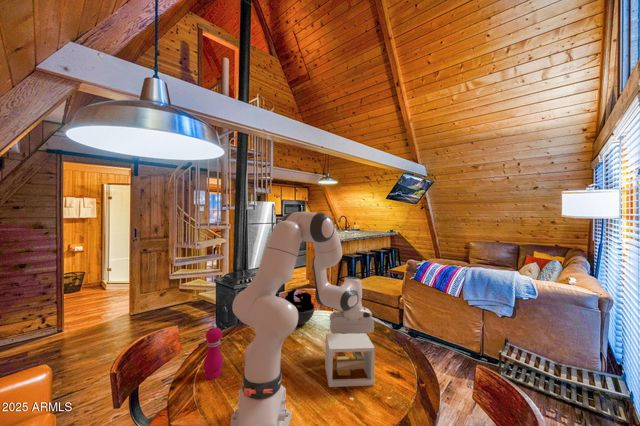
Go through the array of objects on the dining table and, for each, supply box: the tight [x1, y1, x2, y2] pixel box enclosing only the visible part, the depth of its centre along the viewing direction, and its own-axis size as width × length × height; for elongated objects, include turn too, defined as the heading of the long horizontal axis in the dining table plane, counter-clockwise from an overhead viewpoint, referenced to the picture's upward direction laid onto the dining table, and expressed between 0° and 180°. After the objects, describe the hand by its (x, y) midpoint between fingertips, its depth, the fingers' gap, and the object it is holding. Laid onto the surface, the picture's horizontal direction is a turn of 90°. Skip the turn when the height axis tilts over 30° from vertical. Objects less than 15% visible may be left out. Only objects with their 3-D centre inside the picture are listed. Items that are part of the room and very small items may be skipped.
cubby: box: [324, 333, 376, 388], centre depth 107 cm, size 12×17×14 cm
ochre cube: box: [336, 355, 352, 377], centre depth 110 cm, size 5×5×5 cm
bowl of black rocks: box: [284, 288, 315, 326], centre depth 157 cm, size 20×20×19 cm
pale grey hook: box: [335, 333, 365, 371], centre depth 121 cm, size 35×12×3 cm, turn 5°
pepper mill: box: [203, 324, 224, 380], centre depth 106 cm, size 7×7×20 cm
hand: (351, 341), depth 123 cm, fingers closed on pale grey hook, 2 cm apart
